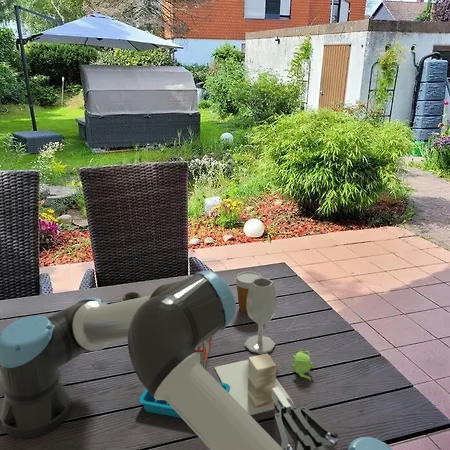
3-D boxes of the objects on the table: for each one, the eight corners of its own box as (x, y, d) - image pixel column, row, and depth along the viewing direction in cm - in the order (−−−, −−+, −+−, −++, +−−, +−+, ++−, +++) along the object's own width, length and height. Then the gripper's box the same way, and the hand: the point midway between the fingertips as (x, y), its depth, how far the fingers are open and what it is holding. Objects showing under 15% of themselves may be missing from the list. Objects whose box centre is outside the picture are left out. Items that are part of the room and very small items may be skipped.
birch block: (255, 407, 108) (256, 369, 104) (247, 394, 112) (248, 357, 109) (274, 403, 110) (276, 365, 106) (265, 389, 114) (267, 353, 110)
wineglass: (280, 345, 133) (284, 281, 126) (262, 358, 127) (264, 292, 120) (257, 334, 138) (259, 272, 131) (239, 346, 132) (240, 282, 125)
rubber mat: (240, 418, 105) (240, 416, 105) (214, 368, 123) (214, 367, 123) (293, 404, 110) (293, 402, 110) (261, 358, 127) (261, 356, 127)
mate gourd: (145, 311, 151) (144, 285, 147) (142, 323, 144) (140, 296, 140) (124, 311, 151) (122, 285, 147) (119, 324, 143) (117, 296, 140)
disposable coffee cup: (267, 306, 154) (268, 275, 150) (253, 319, 147) (254, 286, 143) (243, 299, 159) (244, 268, 155) (229, 310, 151) (229, 278, 147)
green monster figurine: (310, 381, 118) (312, 363, 116) (290, 377, 119) (291, 359, 117) (313, 367, 123) (315, 349, 121) (294, 363, 125) (295, 346, 123)
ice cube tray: (156, 381, 118) (155, 371, 117) (231, 394, 113) (231, 384, 112) (137, 412, 107) (137, 402, 106) (219, 428, 102) (219, 417, 101)
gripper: (297, 502, 81) (247, 412, 102) (358, 481, 85) (299, 399, 106) (299, 470, 78) (248, 385, 99) (362, 451, 82) (301, 372, 103)
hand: (274, 392), depth 103 cm, fingers closed
